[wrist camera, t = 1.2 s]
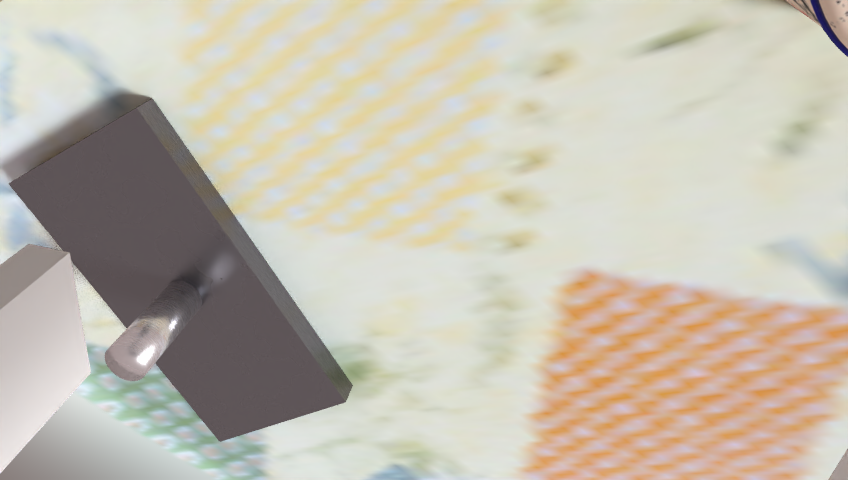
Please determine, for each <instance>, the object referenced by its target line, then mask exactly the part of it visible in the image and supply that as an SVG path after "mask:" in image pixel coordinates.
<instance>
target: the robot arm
mask: <svg viewBox="0 0 848 480" xmlns="http://www.w3.org/2000/svg"><path fill="white" fill-rule="evenodd" d="M90 373H91V370H90V364H89V359H88V353H87V347H86V342H85V336H84V330H83V325H82V319H81V313H80V308H79V302H78V296H77V291H76V285H75V279H74V274H73V268H72V262H71V257H70V252H65V251H60V250H56V249H51V248H46V247H42V246H37V245H32V244H28V245H26V246H25V247H24V248H22V249H21V250H20V251H18V252H17V253H16V254H14V255H13V256H12V257H10V258H9V259H8V260H6V261H5V262H4V263H2V264H1V265H0V473H1V472H2V471H3V470H4V469H5V467H6V466H7V465H8V464H9V463H10V462H11V461H12V460H13V458H14V457H15V456H16V455H17V454H18V453H19V452H20V451H21V450H22V449H23V447H24V446H25V445H26V444H27V443H28V442H29V441H30V440H31V439H32V438H33V436H34V435H35V434H36V433H37V432H38V431H39V430H40V429H41V428H42V426H43V425H44V424H45V423H46V422H47V421H48V420H49V419H50V418H51V416H52V415H53V414H54V413H55V412H56V411H57V410H58V409H59V408H60V406H61V405H62V404H63V403H64V402H65V401H66V400H67V399H68V397H70V395H71V394H72V393H73V392H74V391H75V390H76V389H77V388H78V387H79V385H80V384H81V383H82V382H83V381H84V380H85V379H86V378H87V377H88V376H89V374H90ZM829 480H848V449H847V451H846V452H845V454H844V455H843V457H842V459H841V460H840V462H839V463H838V465H837V467H836V468H835V470H834V471H833V473H832V475H831V476H830V478H829Z"/></svg>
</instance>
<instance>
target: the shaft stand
mask: <svg viewBox="0 0 848 480" xmlns="http://www.w3.org/2000/svg"><path fill="white" fill-rule="evenodd" d="M9 185H10V186H11V187H12V189H13V190H14V191H15V192H16V193H17V195H18V196H19V197H20V198H21V200H22V201H23V202H24V203H25V204H26V206H27V207H28V208H29V209H30V211H31V212H32V213H33V214H34V215H35V217H36V218H37V219H38V220H39V222H40V223H41V224H42V225H43V226H44V228H45V229H46V230H47V231H48V233H49V234H50V235H51V236H52V237H53V239H54V240H55V241H56V242H57V244H58V245H59V246H60V247H61V248H62V250H63V251H65V252H70V257H71V261H72V262H73V263H74V264H75V265H76V267H77V268H78V269H79V270H80V272H81V273H82V274H83V275H84V276H85V278H86V279H87V280H88V281H89V283H90V284H91V285H92V286H93V287H94V289H95V290H96V291H97V292H98V294H99V295H100V296H101V297H102V298H103V300H104V301H105V302H106V303H107V305H108V306H109V307H110V308H111V309H112V311H113V312H114V313H115V314H116V316H117V317H118V318H119V319H120V320H121V322H122V323H123V324H124V325H125V327H126V328H127V329H126V330H125V332H124V333H123V334H122V335H121V336H120V337H119V338H118V339H117V340H116V341H115V342H114V343H113V344H112V345H111V346H110V347H109V349H108V350H107V351H106V353H105V361H106V364H107V366H108V367H109V369H110V370H111V371H112V372H113V373H114V374H115V375H117V376H118V377H120V378H122V379H125V380H129V381H137V380H140V379H142V378H143V377H144V376H145V375H146V373H147V372H148V371H149V370H150V369H151V367H152V366H153V365H154V364H155V363H156V364H157V366H158V367H159V368H160V369H161V371H162V372H163V373H164V374H165V375H166V377H167V378H168V379H169V380H170V382H171V383H172V384H173V385H174V386H175V388H176V389H177V390H178V391H179V393H180V394H181V395H182V396H183V397H184V399H185V400H186V401H187V402H188V403H189V405H190V406H191V407H192V408H193V410H194V411H195V412H196V413H197V414H198V416H199V417H200V418H201V419H202V421H203V422H204V423H205V424H206V425H207V427H208V428H209V429H210V430H211V432H212V433H213V434H214V435H215V436H216V438H217V439H218V440H219V441H224V440H227V439H230V438H233V437H236V436H240V435H243V434H246V433H249V432H252V431H256V430H259V429H262V428H265V427H268V426H271V425H275V424H278V423H281V422H284V421H287V420H291V419H294V418H297V417H300V416H303V415H306V414H310V413H313V412H316V411H319V410H322V409H326V408H329V407H332V406H335V405H338V404H342V403H345V402H346V400H347V398H348V396H349V393H350V391H351V388H352V386H353V385H352V384H351V382H350V381H349V380H348V378H347V377H346V375H345V374H344V372H343V371H342V369H341V368H340V367H339V365H338V364H337V362H336V361H335V359H334V358H333V357H332V355H331V354H330V352H329V351H328V349H327V348H326V347H325V345H324V344H323V342H322V341H321V339H320V338H319V337H318V335H317V334H316V332H315V331H314V329H313V328H312V327H311V325H310V324H309V322H308V321H307V319H306V318H305V316H304V315H303V314H302V312H301V311H300V309H299V308H298V306H297V305H296V304H295V302H294V301H293V299H292V298H291V296H290V295H289V294H288V292H287V291H286V289H285V288H284V286H283V285H282V284H281V282H280V281H279V279H278V278H277V276H276V275H275V274H274V272H273V271H272V269H271V268H270V266H269V265H268V263H267V262H266V261H265V259H264V258H263V256H262V255H261V253H260V252H259V251H258V249H257V248H256V246H255V245H254V243H253V242H252V241H251V239H250V238H249V236H248V235H247V233H246V232H245V231H244V229H243V228H242V226H241V225H240V223H239V222H238V220H237V219H236V218H235V216H234V215H233V213H232V212H231V210H230V209H229V208H228V206H227V205H226V203H225V202H224V200H223V199H222V198H221V196H220V195H219V193H218V192H217V190H216V189H215V188H214V186H213V185H212V183H211V182H210V180H209V179H208V178H207V176H206V175H205V173H204V172H203V170H202V169H201V167H200V166H199V165H198V163H197V162H196V160H195V159H194V157H193V156H192V155H191V153H190V152H189V150H188V149H187V147H186V146H185V145H184V143H183V142H182V140H181V139H180V137H179V136H178V135H177V133H176V132H175V130H174V129H173V127H172V126H171V125H170V123H169V122H168V120H167V119H166V117H165V116H164V114H163V113H162V112H161V110H160V109H159V107H158V106H157V104H156V103H155V102H154V100H153V99H151V100H149V101H147V102H146V103H144V104H142V105H140V106H139V107H137V108H135V109H134V110H132V111H130V112H129V113H127V114H125V115H124V116H122V117H120V118H118V119H117V120H115V121H113V122H112V123H110V124H108V125H107V126H105V127H103V128H102V129H100V130H98V131H97V132H95V133H93V134H92V135H90V136H88V137H86V138H85V139H83V140H81V141H80V142H78V143H76V144H75V145H73V146H71V147H70V148H68V149H66V150H65V151H63V152H61V153H60V154H58V155H56V156H54V157H53V158H51V159H49V160H48V161H46V162H44V163H43V164H41V165H39V166H38V167H36V168H34V169H33V170H31V171H29V172H28V173H26V174H24V175H22V176H21V177H19V178H17V179H16V180H14V181H12V182H11V183H9Z"/></svg>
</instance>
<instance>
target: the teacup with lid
mask: <svg viewBox="0 0 848 480" xmlns="http://www.w3.org/2000/svg"><path fill="white" fill-rule="evenodd" d="M786 1H787V2H788V3H789V4H791V5H792V6H793V7H795V8H796V9H798V10H799V11H800V12H802V13H803V14H805V15H806V16H807V17H809V18H810V19H811V20H813V21H814V22H816V23H817V24H818V25H820V26H821V27H822V28H823V30H824V31H825V32H826V34H827V35H828V37H829V38H830V39H831V41H832V42H833V43H834V44H835V45H836V46H837V47H838V48H839V49H840V50H841V51H842V52H843V53H844V54H845V55H846V56H848V0H786Z"/></svg>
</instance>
